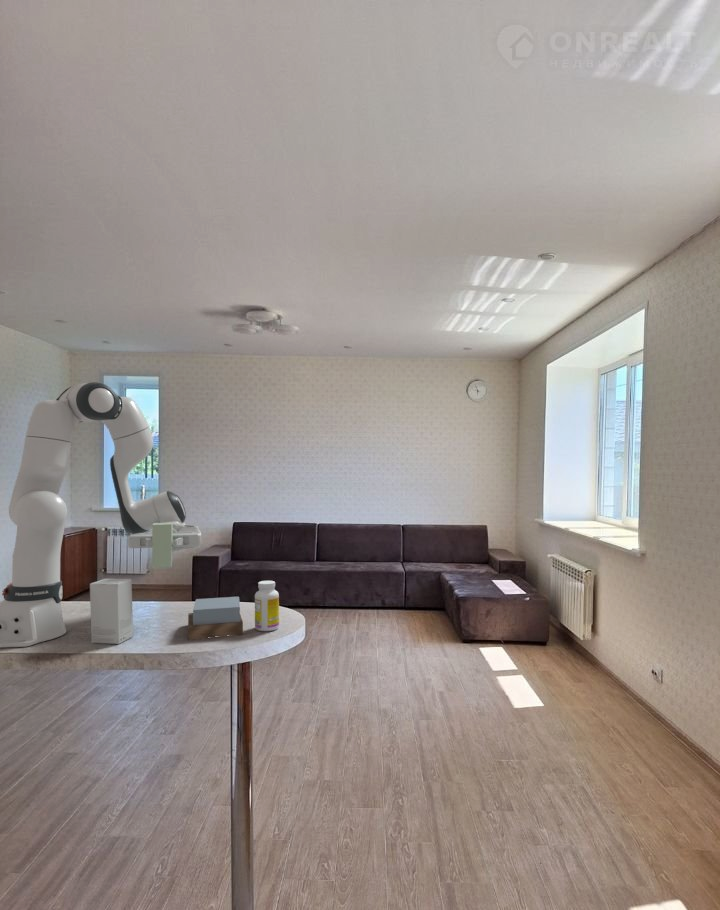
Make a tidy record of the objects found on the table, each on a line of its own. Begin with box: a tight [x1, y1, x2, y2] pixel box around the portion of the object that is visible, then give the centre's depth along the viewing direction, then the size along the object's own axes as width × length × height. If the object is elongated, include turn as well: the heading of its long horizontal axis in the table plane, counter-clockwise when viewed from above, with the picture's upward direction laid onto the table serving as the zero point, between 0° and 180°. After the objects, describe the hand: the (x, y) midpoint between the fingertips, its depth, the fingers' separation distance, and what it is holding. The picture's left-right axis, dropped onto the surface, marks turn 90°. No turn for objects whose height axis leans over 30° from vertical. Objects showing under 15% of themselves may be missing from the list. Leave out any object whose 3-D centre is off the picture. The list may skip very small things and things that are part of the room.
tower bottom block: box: [187, 612, 244, 641], centre depth 148 cm, size 14×14×4 cm
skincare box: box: [89, 578, 134, 645], centre depth 140 cm, size 8×7×16 cm
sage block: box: [151, 522, 173, 570], centre depth 150 cm, size 5×5×12 cm
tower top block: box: [192, 596, 241, 625], centre depth 148 cm, size 12×12×4 cm
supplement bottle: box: [254, 580, 280, 632], centre depth 149 cm, size 7×7×13 cm
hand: (162, 543), depth 149 cm, fingers closed on sage block, 5 cm apart
